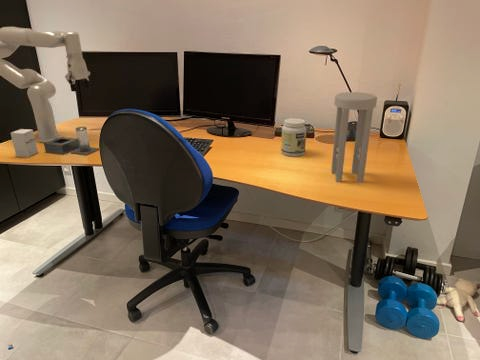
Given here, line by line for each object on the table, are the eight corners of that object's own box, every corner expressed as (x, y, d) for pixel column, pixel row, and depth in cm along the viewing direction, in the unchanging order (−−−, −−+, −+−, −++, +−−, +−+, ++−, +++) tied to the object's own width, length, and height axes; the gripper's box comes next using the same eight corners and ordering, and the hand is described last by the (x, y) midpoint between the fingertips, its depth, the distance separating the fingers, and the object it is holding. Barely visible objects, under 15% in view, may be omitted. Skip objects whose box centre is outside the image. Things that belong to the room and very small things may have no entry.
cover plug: (77, 151, 195) (73, 129, 190) (84, 148, 199) (80, 126, 194) (85, 152, 193) (81, 130, 188) (92, 149, 197) (88, 127, 192)
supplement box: (28, 157, 188) (22, 133, 183) (16, 156, 190) (9, 132, 185) (38, 152, 195) (33, 129, 190) (26, 152, 196) (20, 128, 191)
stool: (360, 170, 169) (370, 91, 155) (369, 184, 155) (381, 99, 141) (325, 169, 170) (332, 91, 155) (332, 183, 155) (340, 99, 141)
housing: (45, 152, 196) (43, 143, 194) (63, 145, 206) (61, 136, 204) (63, 154, 192) (61, 145, 190) (80, 147, 202) (78, 138, 200)
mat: (71, 153, 194) (70, 152, 193) (84, 147, 202) (84, 146, 202) (86, 155, 190) (86, 154, 190) (99, 149, 199) (99, 148, 199)
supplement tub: (297, 159, 183) (299, 125, 176) (276, 154, 189) (277, 121, 183) (309, 152, 192) (311, 119, 185) (288, 147, 198) (290, 116, 192)
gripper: (68, 58, 189) (74, 93, 196) (92, 55, 203) (97, 87, 210) (56, 58, 191) (63, 92, 198) (81, 55, 206) (86, 86, 213)
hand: (80, 89), depth 204 cm, fingers open, 9 cm apart
